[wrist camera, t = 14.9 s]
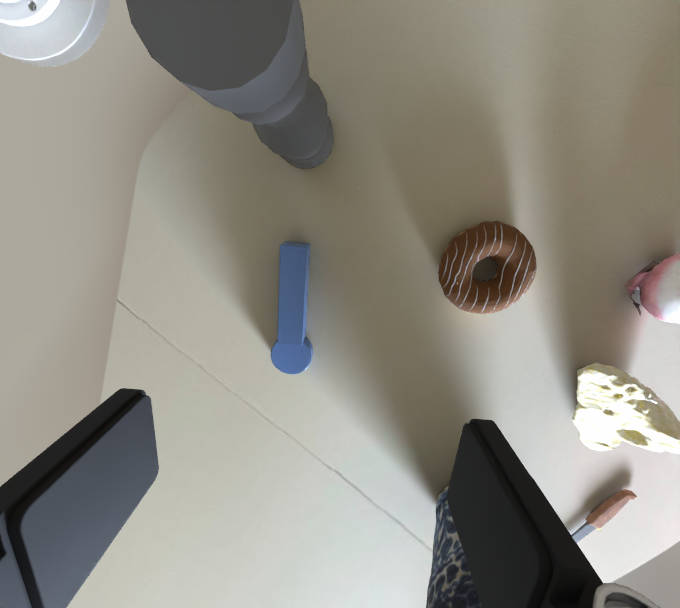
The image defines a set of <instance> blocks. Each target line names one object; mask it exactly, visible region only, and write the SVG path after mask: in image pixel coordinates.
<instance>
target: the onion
mask: <svg viewBox="0 0 680 608" xmlns="http://www.w3.org/2000/svg"><path fill="white" fill-rule="evenodd" d="M624 286H625V288H626V289H627V291H628V294H629V296H630V298H631V299H632V297H631V295H632V294H635V293H634V291H635V290H634V289H640V301H641V304H642V305H643V307H644V308H645V309H646V310H647V311H648V312H649V313H650V314H651V315H653V316H654V317H656V318H657V319H659V320H662V321H666V322H673V323H680V253H679V254H675V255H672V256H670V257H668V258H666V259H664V260H663V261H662V262H661V263H657V262H654V261H653V262H652V263H651V264H649V265H648V266H647V267H646V268H644V269H643V270H642V271H640V272H639V273H638V274H636V275H635V276H634V277H633V278H631V279H630V280H629V281H627V282H626V283H625V284H624ZM632 301H633V302H634V300H633V299H632ZM633 304H634V305H635V306H636V308H637V309H638V312H639V314H640V316H641V311H640V309H639V305H640V304H638V303H635V302H634V303H633Z"/></svg>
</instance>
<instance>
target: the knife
mask: <svg viewBox="0 0 680 608" xmlns="http://www.w3.org/2000/svg"><path fill="white" fill-rule="evenodd" d="M636 497H637V496H636V495H635V494H634V493H633V492H632V491H630V490H620V491H619V492H617V493H615V494H614V495H613V496H611V497H610V498H608V499H607V500H606V501H605V502H604V503H602V504H601V505H600V506H599V507H598V508H597V509H596V510H595V511H594V512H592V513H591V514H590V515H589V516H588V517H587V518H586V520H587V522H586V523H585V524H584V525H583V526H582V527H580V528H579V529H578V530H577V531H576V532H575V533H574V534H572V535H571V536H572V538H573V539H574V540H575V542H576V543H577V542H578V541H580V540H581V539H582V538H584V537H585V536H586V535H588V534H589V533H590V532H592V531H593V530H594V529H597V530H599V531H602V530H601V529H600V528H601V527H602V526H603V525H605V524H606V523H607V522H608V521H609V520H610V519H612V518H613V517H614V516H615V515H616V514H617V513H618V512H619V511H620V509H621V508H622V507H623V506H624V505H625V504H626V503H627V502H628V501H629V500H630V499H633V500H634V499H635V498H636Z"/></svg>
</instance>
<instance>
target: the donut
mask: <svg viewBox="0 0 680 608" xmlns="http://www.w3.org/2000/svg"><path fill="white" fill-rule="evenodd" d="M486 257H490V258H492V260H494V261H496V262H497V265H498V269H496V271H497V273H496V275H495V276H494V277H493V278H492V279H490V280H489V281H483V282H479V281H478V280H476V279H475V278H474V277H473V269H474V267H475V265H476V264H477V262H479V261H480V260H483V259H485V258H486ZM438 274H439V282H440V284H441V287H442V289H443V292H444V295H445V297H446V298H448V299H449V300H450V301H451V302H452V303H453V304H454V305H455V306H457V307H458V308H459V309H461V310H464V311H468V312H471V313H478V314H479V313H480V314H486V313H494V312H497V311H500V310H503V309H505V308H507V307H509V306H511V305H512V304H513V303H515V302H516V301H518V300H519V299H520V298H521V297H522V296H523V295H524V294H525V293H526V291H527V290H528V289H529V287H530V286H531V284H532V282H533V280H534V277H535V274H536V257H535V253H534V250H533V247H532V245H531V244H530V242H529V241H528V240H527V238H526V237H525V235H524V234H522V233H521V232H520V231H519V230H518V229H516V228H515V227H512V226H510V225H507V224H504V223H501V222H499V221H494V222H483V223H480V224H478V225H476V226H473V227H470V228H468V229H466V230H464V231H463V232H461V233H460V234H458V235H457V236H456V237H455V238H453V240H452V241H451V242H450V243H449V245H448V246H447V247H446V249H445V251H444V253H443V255H442V258H441V261H440V266H439V271H438Z"/></svg>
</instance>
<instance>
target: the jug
mask: <svg viewBox="0 0 680 608" xmlns="http://www.w3.org/2000/svg"><path fill="white" fill-rule="evenodd" d="M448 487H449V486H447V487H446V488H444V491H443V492H442V493H440V495H439V496H438V498H437V502H436V528H435V535H434V544H433V561H432V569H431V576H430V581H429V586H428V592H427V605H426V608H482V607H481V604H480V601H479V598H478V595H477V592H476V589H475V585H474V582H473V579H472V576H471V573H470V570H469V567H468V564H467V561H466V558H465V555H464V552H463V549H462V546H461V543H460V540H459V537H458V534H457V531H456V528H455V525H454V522H453V519H452V516H451V513H450V510H449V506H448V502H447V491H448Z"/></svg>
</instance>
